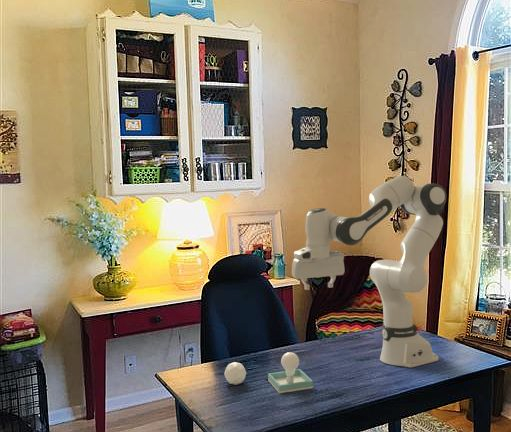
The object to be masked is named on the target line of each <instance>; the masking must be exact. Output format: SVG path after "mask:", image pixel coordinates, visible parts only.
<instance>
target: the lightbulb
mask: <svg viewBox="0 0 511 432" xmlns="http://www.w3.org/2000/svg"><path fill="white" fill-rule="evenodd" d="M280 364H281V365H282V368H283V369H284V371H285V373H286V379H287V382H288V383H292V382H294V374H295V370H297V368H298V367H299V364H300V359H299V357H298V355H297V353H294V352H292V351H289V352H285V353H284V354H283V355H282V357H281V359H280Z"/></svg>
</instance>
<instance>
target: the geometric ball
mask: <svg viewBox="0 0 511 432" xmlns="http://www.w3.org/2000/svg"><path fill="white" fill-rule="evenodd" d="M246 375H247V370H246V369H245V367H244V365H243V364H242V363H240V362H236V361H234V362H231V363H228V364H227V366H226V367H225V370H224V377H225V379H226V381H227V382H228V383H229V384H231V385H233V386H236V385H240V384H242V383H243V382H244V380H245V379H246Z"/></svg>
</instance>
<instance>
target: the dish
mask: <svg viewBox="0 0 511 432" xmlns="http://www.w3.org/2000/svg"><path fill="white" fill-rule="evenodd" d="M267 378H268V379H267V380H268V382H269V383H270V384H271V385H272V387H274V389H275V390H276V391H277V392H278V394H282V393H290V392H297V391H302V390H303V391H304V390H309V389H314V381H313V379H311V377H309V376H308V375H307V373H305V372H304V371H303V370H302V369H300V368H298V369H297V368H296V370H295V374H294V382H292V383H288V382H287V379H286V373H285V370H284V371H276V372H270V373H267Z"/></svg>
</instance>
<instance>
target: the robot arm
mask: <svg viewBox="0 0 511 432" xmlns="http://www.w3.org/2000/svg"><path fill="white" fill-rule="evenodd" d="M446 202H447V193H446V190H445V188H444V187H443V186H442V185H440V184H438V183H427V184H422V185H417V186H415V184H414V183H413V181H412V180H411V179H410V178H409V177H407V176H404V175H399V176H395V177H394V178H391V179H388V180H387V181H385V182H383V183H381V184H380V185H378V186H376V187H375V188H374V189H373V190H372V191H371V192H370V193H369V196H368V203H369V206H370V207H369V208H368V209H367V210H365V211H364V212H363V213H361V214H359V215H358V216H353V217H347V216H342V215H337V214H335V213H332V212H331V211H329V210H328V209H327V208H325V207H319V208H313V209H310V210H309V211H307V213H306V216H305V235H306V241H305V247H303V248H301V249H298V250H295V251H294V252H293V257H294V259H293V260H292V263H291V276H292V277H293V279H296V280H300V281H301V282H302V283H303V285H304V286H303V287H304V290H305V291H309V290H310V287H311V285H310V284H308V283H307V281H308V280H307V279H311V278H312V279H313V278H323V277H324V278H325V277H330V280H329V281H328V282H327V288H334V283H335V281H336V279H337V278H336V277H337V276H343V275H344V274H345V269H346V268H345V263H344V260H345V255H344V252H342V251H341V250H338V249H337V250H331V248H330V247H331V246H330V245H331V241H334V242H336V243H341V244H343V245H344V244H345V245H348V246H355V245H357V244H359V243H360V242H362V240H363V239H364V238H365V236H366V234H367V233H368V232H369V231H371V230H372V229H373V228H374V227H375V226H377V225H378V224H379V223H380V222H381V221H383V220H384V219H385V218H387V217H388V216H389V215H390V213H391V212H393V211H394V210H397V208H399V207H400V209H401V210H402V211H403V212H404V213H405V214H408V215H414V216H415V219H414V223H412V225H411V226H410V228H409V230H408V231H407V233H406V235H404V237H403V239H402V240H401V242H400V244H399V245H400V246H399V247H400V251H401V252H402V256H401V259H400V260H399V261H397V260H393V259H392V260H391V259H378V260H376V261H374V262H373V263H372V264H371V266H370V268H369V276H370V279H371V281H372V282H373V284H375V286H376V288H377V290H378V292H379V293H378V294H379V296H380V299H381V303H382V311H383V313H382V316H383V323H382V327H381V329H382V331H381V332H382V348H381V352H380V353H381V354H380V356H379V360H380V362H381V363H384V364H388V365H391V366H399V367H405V368H415V367H418V366H422V365H426V364H431V363H435V362H438V361H439V359H440V358H439V356H438V355H437V353H434V352H433V348H432V345H431V342H429V341H428V340H427V339H425V338H424V337H423V336H421V335H420V334H419V333H421V332H422V330H423V328H422V326H420V325H417V324H415V323H413V313H414V312H413V305H412V303H411V301H410V300H409V298H408V297H407V296H406V293H407V294H408V293H411V294H412V293H420V292H422V291H423V290H424V289H425V287H426V286H427V283H428V275H427V271H426V270H425V264H426V260H427V258H428V256H429V254H430V252H431V251H432V249H433V247H434V245H435V243H436V241H437V240H438V238H439V236H440V234H441V231H442V229H443V227H444V226H443V225H444V220H443V218H442V216H441V213H442V212H444V206H445V205H446ZM418 332H419V333H418Z"/></svg>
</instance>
